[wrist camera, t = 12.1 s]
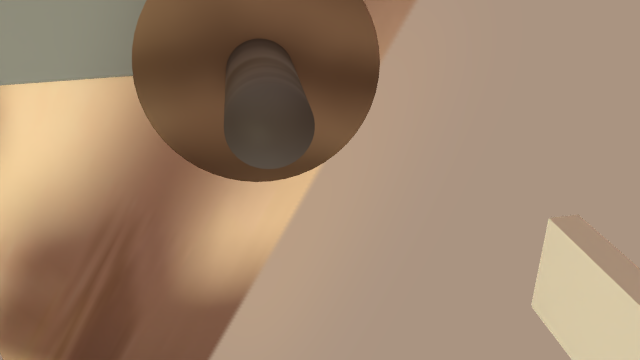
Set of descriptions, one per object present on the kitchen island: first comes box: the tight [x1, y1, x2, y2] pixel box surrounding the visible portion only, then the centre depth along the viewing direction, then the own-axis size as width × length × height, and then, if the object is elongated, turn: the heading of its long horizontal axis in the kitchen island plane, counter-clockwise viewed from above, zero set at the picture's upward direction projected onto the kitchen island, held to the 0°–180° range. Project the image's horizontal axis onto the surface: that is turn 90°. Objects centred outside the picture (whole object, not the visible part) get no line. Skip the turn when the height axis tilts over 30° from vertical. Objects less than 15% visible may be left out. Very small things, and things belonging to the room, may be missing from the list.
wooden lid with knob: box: [132, 0, 380, 182], centre depth 25 cm, size 13×13×9 cm
